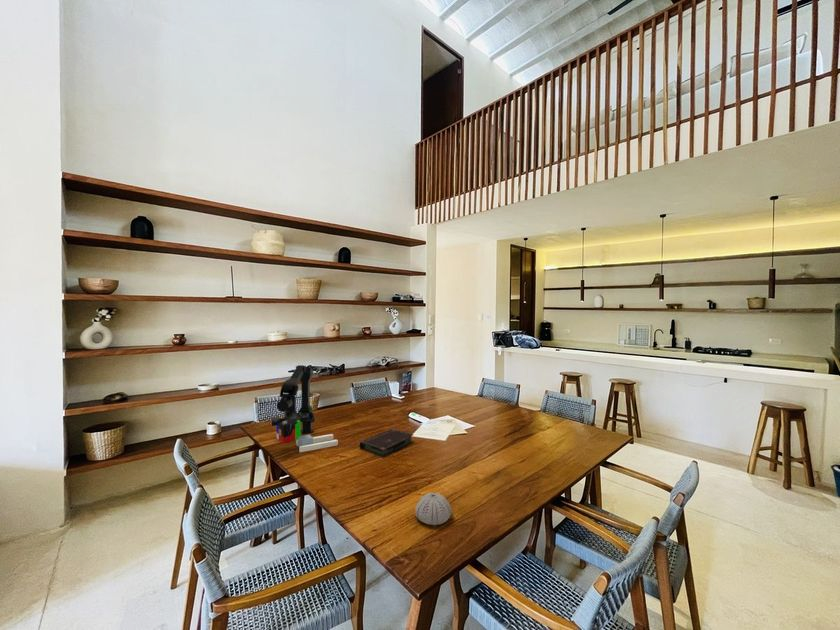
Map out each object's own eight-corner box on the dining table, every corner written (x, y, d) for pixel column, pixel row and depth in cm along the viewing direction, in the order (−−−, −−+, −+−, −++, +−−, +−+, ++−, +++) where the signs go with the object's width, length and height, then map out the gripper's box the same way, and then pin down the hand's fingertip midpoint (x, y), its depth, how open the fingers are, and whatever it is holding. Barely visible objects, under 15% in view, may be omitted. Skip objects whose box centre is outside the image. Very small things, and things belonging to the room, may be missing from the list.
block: (298, 446, 187) (298, 436, 187) (309, 444, 190) (309, 434, 190) (301, 450, 182) (301, 440, 182) (313, 447, 186) (313, 437, 185)
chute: (296, 444, 189) (296, 440, 189) (332, 438, 199) (332, 433, 199) (299, 452, 179) (299, 447, 179) (337, 445, 189) (337, 440, 189)
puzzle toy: (276, 438, 198) (276, 421, 198) (293, 434, 205) (293, 417, 205) (283, 443, 191) (283, 425, 191) (300, 438, 198) (300, 421, 198)
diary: (359, 450, 184) (358, 440, 184) (390, 436, 204) (390, 427, 204) (384, 459, 173) (384, 449, 173) (415, 443, 193) (414, 434, 193)
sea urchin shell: (429, 533, 115) (429, 510, 115) (407, 514, 126) (407, 492, 126) (459, 519, 123) (459, 497, 123) (435, 502, 134) (435, 482, 134)
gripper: (272, 412, 170) (272, 443, 171) (311, 407, 179) (311, 437, 180) (270, 406, 180) (270, 436, 180) (307, 402, 189) (307, 430, 189)
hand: (290, 435), depth 182 cm, fingers closed
